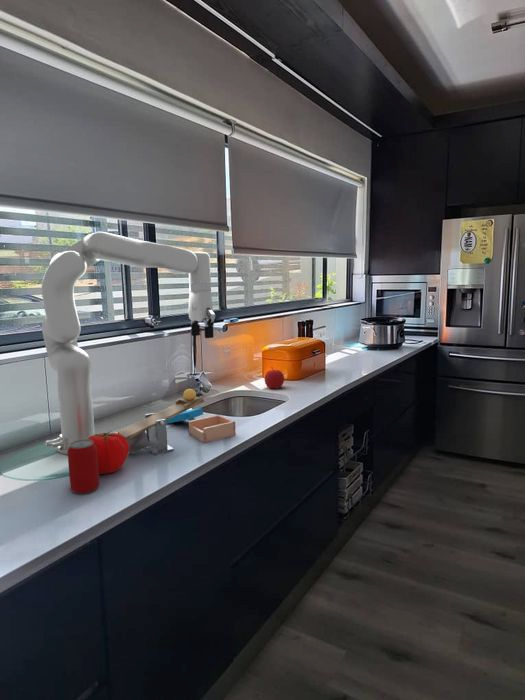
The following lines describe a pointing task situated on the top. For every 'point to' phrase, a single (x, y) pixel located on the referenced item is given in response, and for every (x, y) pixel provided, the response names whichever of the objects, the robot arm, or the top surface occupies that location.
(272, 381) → the apple
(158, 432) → the fulcrum
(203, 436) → the dish
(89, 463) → the beverage can
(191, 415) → the blue wedge block
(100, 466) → the tomato
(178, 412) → the lever
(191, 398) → the ball
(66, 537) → the top surface
